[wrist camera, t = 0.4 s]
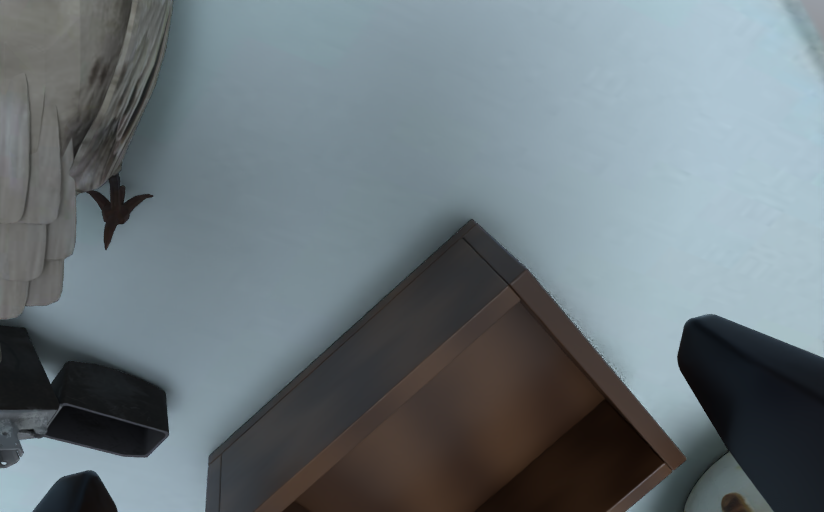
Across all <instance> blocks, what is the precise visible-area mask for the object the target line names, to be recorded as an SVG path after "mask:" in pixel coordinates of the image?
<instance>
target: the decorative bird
mask: <svg viewBox="0 0 824 512" xmlns="http://www.w3.org/2000/svg"><path fill="white" fill-rule="evenodd" d="M172 9H173V0H0V319H3V320H4V319H11V318H17V317H18V316H19V315H20V314H22V312H23V310H24V307H25V306H47V305H49V304H52V303H54V302H56V301H58V300H59V298H60V296H61V293H62V287H63V275H64V259H65V258H67V257H69V256H70V255H72V254H73V250H74V246H75V238H76V195H78V194H79V193H83V192H87V193H89V194H90V195H91V196H92V197H93V199H94V200H95V201H96V202H97V203H98V205H99V207H100V208H101V210H102V216H103V219H104V222H106V224H105V229H104V245H105V250H107V248H108V246H109V244H110V242H111V239H112V236H113V233H114V231H115V229H116V227H117V225H119V224H124V223H125V222H126V221H127V220H128V219H129V216H130V215H129V214H130V213H131V212H132V210H133V209H134V208H135V207H136V206H137V205H138V204H140V203H141V202H142V201H143V200H145V199H146V198H150V197H153V195H150V194H143V195H137V196H135V197H133V198H131V199H129V200H128V201H126V202H125V203H124V198H125V186H123V185H122V186H120V177H119V174H118V172H119V171H121V168H122V160H123V159H124V157H125V154H126V151H127V149H128V146H129V144H130V142H131V140H132V137H133V135H134V133H135V130H136V128H137V126H138V124H139V121H140V119H141V117H142V115H143V112H144V110H145V108H146V106H147V103H148V101H149V99H150V97H151V94H152V92H153V90H154V88H155V85H156V82H157V79H158V75H159V72H160V68H161V65H162V61H163V58H164V54H165V51H166V47H167V41H168V35H169V28H170V22H171V16H172ZM107 180H109V183H110V201H109V200H108V199H107V198H106V197H105V196H103V195H102V194H101V193H99V192H97V191H94V189H97V188H99V187H101V186H102V185H103V184H105V183H106V181H107Z"/></svg>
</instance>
